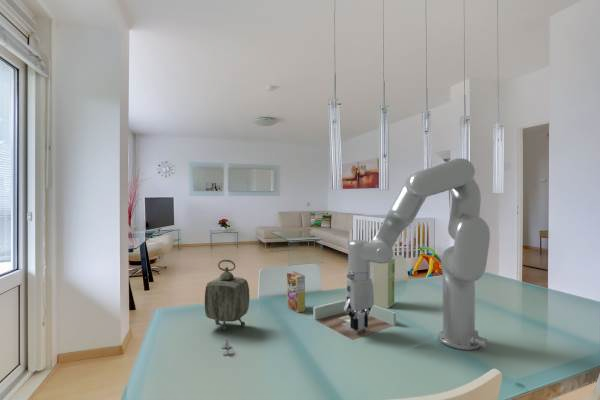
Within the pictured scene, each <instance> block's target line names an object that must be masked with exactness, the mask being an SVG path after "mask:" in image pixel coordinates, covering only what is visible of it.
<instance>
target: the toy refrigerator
mask: <svg viewBox="0 0 600 400" xmlns="http://www.w3.org/2000/svg"><path fill="white" fill-rule="evenodd" d="M395 261H396V260H395V257H393V258H392V259H391V261H389V262H388V263H385V264H379V263H374V262H373V271H374V272H373V273H374V274H373V292H374V305H376V306H379V307H382V308H384V309H389V308H391V307H392V306H393V305H395V271H396V267H395V266H396V264H395Z"/></svg>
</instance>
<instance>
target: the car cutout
mask: <svg viewBox="0 0 600 400" xmlns="http://www.w3.org/2000/svg"><path fill="white" fill-rule="evenodd" d="M220 347H221V348H220V349H225V350H224V351H222V355H223V356H227V355H233V354H234V350H233V349H229V348H232V343H230V342H229V339H228V337H227V336H226V338H225V343H222V344H221V346H220Z"/></svg>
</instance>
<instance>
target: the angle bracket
mask: <svg viewBox="0 0 600 400" xmlns="http://www.w3.org/2000/svg"><path fill="white" fill-rule="evenodd" d="M353 314H354V313H353ZM357 319H358V330H357V331H356V330H354V329H352V328H351V327H350V321H349V322H346V323H342V327H343V328H345V329H347V330H349V331H351V332H353V333H355V334H357V335H358V334H361V333H364V332H365V312H363V311H358V312H357Z"/></svg>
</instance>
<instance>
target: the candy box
mask: <svg viewBox="0 0 600 400" xmlns="http://www.w3.org/2000/svg"><path fill="white" fill-rule="evenodd" d="M305 277H306V276H305V275H303V274H301V273H299V272H296V271H289V272H286V283H287V284H286V297H287V299H286V300H287V308H289V309H290V310H292V311H294V312H296V313H297V314H299V313H302V312H303V313H304V312H306V278H305Z"/></svg>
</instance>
